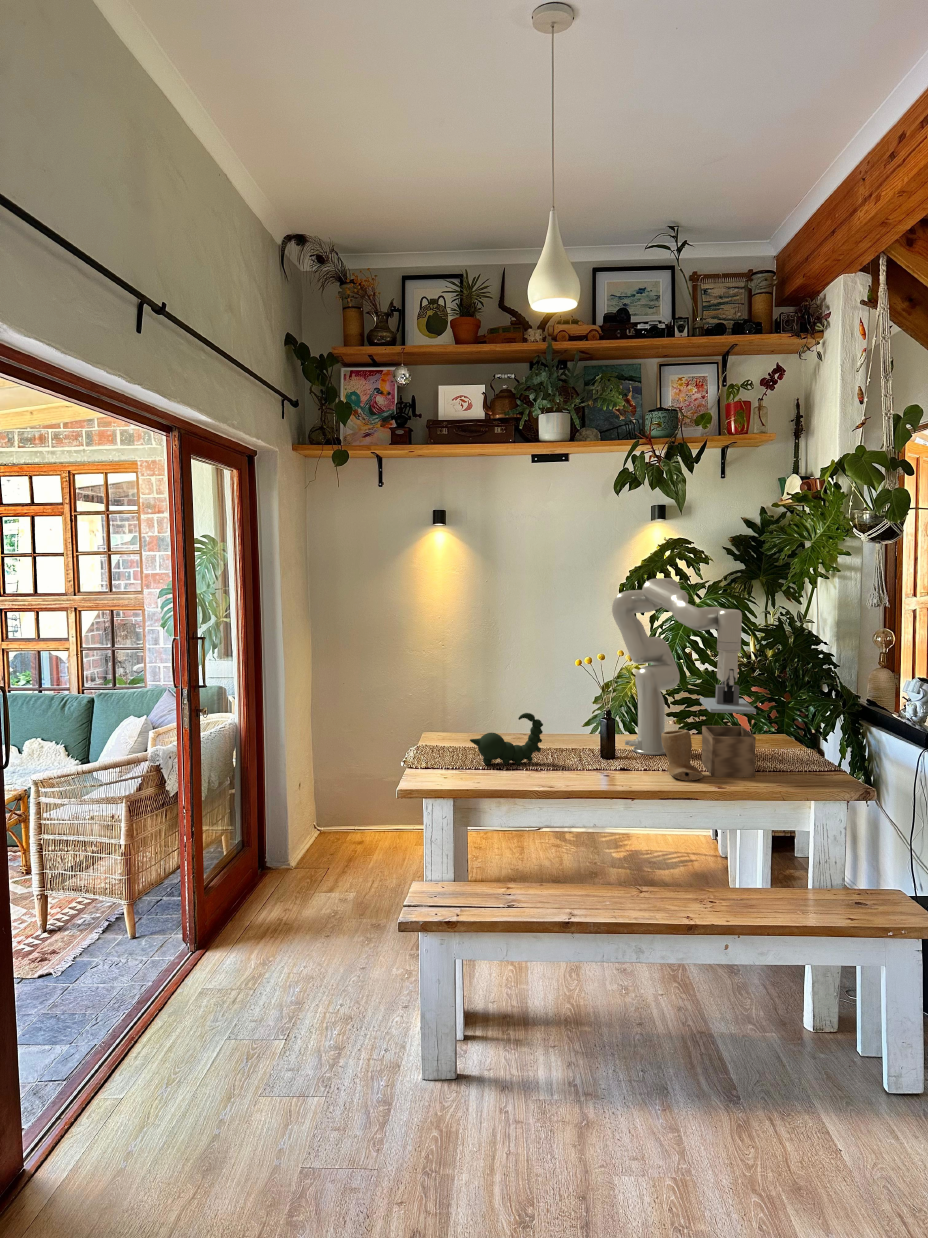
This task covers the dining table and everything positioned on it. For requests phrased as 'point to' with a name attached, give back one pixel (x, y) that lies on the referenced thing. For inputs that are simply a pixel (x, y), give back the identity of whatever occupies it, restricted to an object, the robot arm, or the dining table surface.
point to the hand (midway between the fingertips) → (727, 701)
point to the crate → (728, 751)
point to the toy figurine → (510, 745)
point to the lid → (720, 707)
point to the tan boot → (679, 755)
